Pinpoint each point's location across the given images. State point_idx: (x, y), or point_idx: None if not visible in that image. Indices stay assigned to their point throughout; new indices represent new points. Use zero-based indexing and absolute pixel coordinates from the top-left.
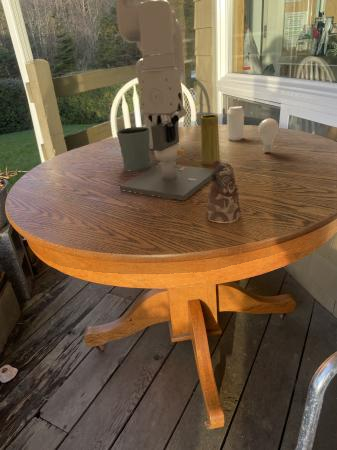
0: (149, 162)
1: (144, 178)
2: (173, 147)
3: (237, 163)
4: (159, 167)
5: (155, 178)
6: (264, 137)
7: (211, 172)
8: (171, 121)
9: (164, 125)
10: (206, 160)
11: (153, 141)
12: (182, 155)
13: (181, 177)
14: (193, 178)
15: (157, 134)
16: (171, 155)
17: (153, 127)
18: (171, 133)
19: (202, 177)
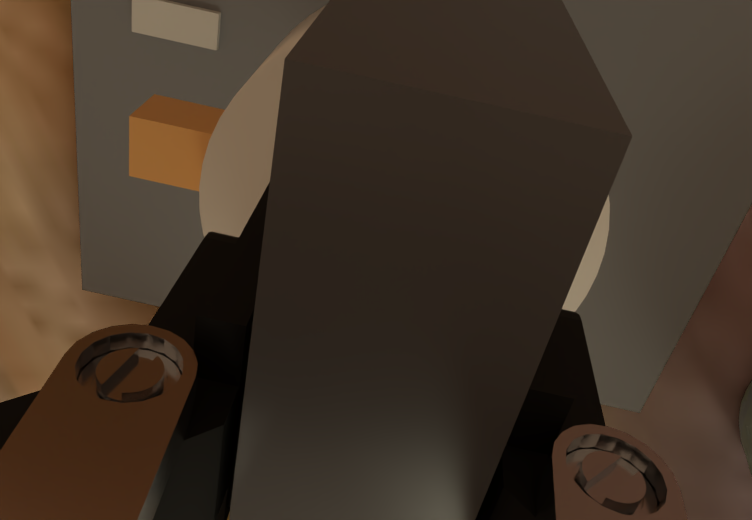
0: (749, 440)
1: (705, 20)
2: (256, 154)
3: None
4: (614, 324)
5: None
6: None
7: (96, 220)
8: (28, 422)
9: (254, 326)
10: None
11: (545, 4)
12: (158, 95)
13: None
14: (182, 66)
15: (403, 11)
16: (284, 39)
17: (527, 108)
18: (204, 277)
19: (113, 97)
